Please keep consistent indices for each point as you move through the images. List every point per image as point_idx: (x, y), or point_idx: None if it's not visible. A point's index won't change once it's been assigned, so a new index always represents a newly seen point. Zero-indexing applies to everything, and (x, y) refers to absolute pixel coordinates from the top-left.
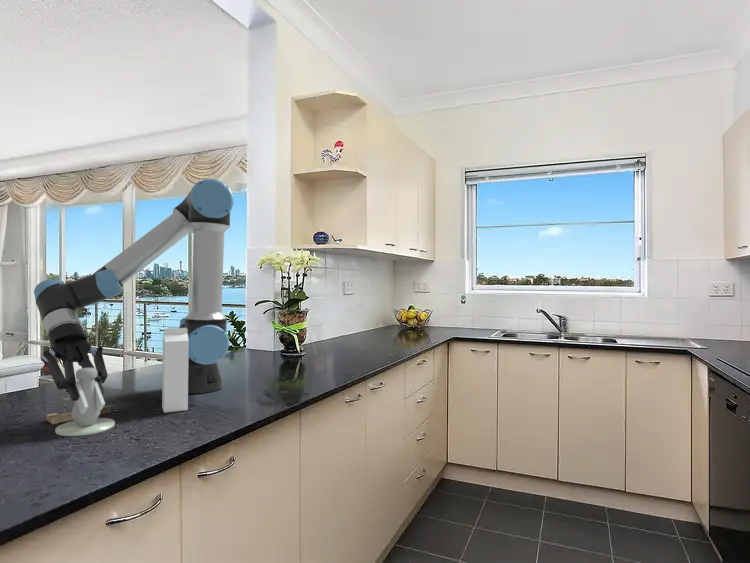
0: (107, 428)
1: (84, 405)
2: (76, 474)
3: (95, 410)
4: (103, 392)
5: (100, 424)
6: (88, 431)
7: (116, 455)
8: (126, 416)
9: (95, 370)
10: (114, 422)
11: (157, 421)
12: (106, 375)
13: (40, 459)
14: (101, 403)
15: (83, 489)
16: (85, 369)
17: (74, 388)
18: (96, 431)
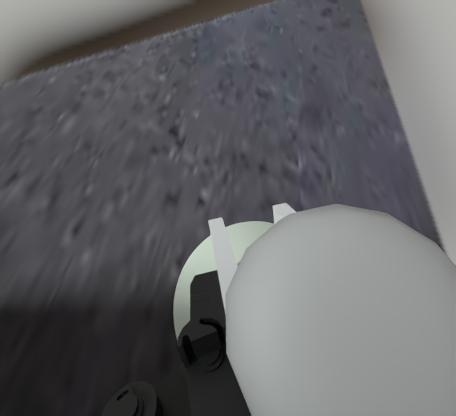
0: (209, 236)
1: (288, 206)
2: (292, 44)
3: (237, 264)
4: (197, 276)
5: None
6: (259, 228)
7: (230, 77)
8: (113, 377)
9: (254, 251)
10: (179, 279)
11: (73, 240)
12: (115, 405)
13: (349, 122)
14: (222, 220)
15: (286, 7)
16: (391, 247)
17: None
18: (239, 223)
